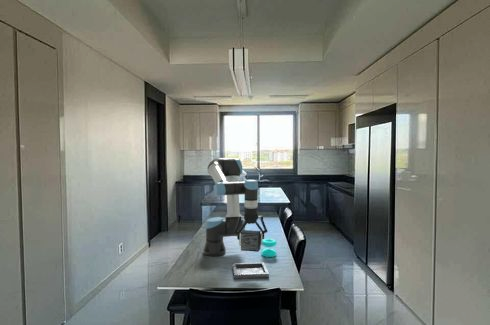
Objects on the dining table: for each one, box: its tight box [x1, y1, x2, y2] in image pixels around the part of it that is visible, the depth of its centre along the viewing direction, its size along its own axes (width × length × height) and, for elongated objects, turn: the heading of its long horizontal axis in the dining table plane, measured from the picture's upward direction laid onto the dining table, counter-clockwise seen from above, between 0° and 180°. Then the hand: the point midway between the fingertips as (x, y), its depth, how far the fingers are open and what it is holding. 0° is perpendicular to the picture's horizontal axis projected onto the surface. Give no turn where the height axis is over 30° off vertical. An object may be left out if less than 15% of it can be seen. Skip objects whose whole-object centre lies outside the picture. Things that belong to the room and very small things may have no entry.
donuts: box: [261, 238, 277, 258], centre depth 214 cm, size 10×10×10 cm
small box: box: [240, 229, 262, 253], centre depth 184 cm, size 11×6×10 cm, turn 76°
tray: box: [232, 261, 270, 280], centre depth 185 cm, size 19×17×2 cm
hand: (250, 244), depth 184 cm, fingers closed on small box, 12 cm apart
